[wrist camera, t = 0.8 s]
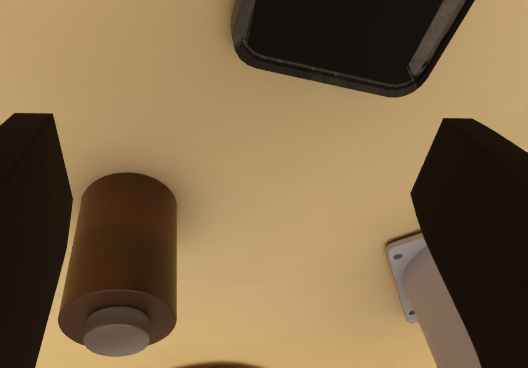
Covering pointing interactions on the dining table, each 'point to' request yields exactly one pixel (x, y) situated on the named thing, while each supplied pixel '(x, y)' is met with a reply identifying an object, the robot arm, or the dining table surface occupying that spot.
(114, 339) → the salt shaker
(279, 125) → the dining table surface
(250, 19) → the phone
